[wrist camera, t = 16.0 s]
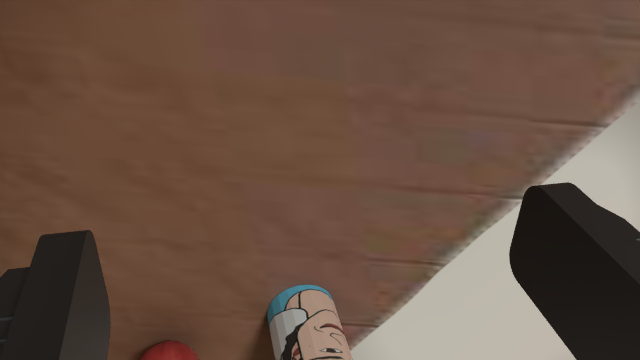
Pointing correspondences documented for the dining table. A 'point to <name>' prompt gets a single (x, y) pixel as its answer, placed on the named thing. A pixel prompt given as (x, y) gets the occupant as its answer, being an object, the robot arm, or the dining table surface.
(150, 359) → the onion
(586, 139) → the dining table surface
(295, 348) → the cup
